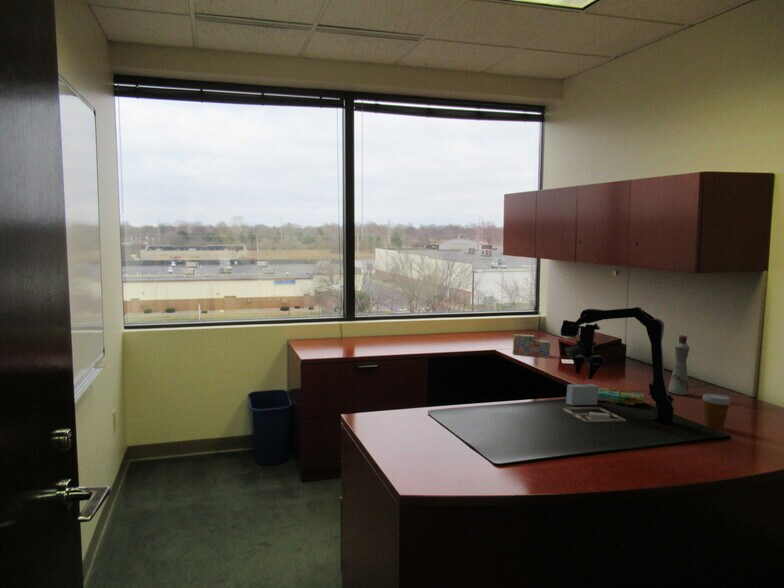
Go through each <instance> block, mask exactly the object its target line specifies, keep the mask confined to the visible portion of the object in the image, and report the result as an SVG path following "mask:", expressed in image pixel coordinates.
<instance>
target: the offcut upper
mask: <svg viewBox="0 0 784 588" xmlns="http://www.w3.org/2000/svg"><path fill="white" fill-rule="evenodd" d="M588 413H589V416H590V418H594V419H593V420H596V419H610V418H611V415H609V414H607V413H605V412H593V411H589V412H588Z"/></svg>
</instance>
